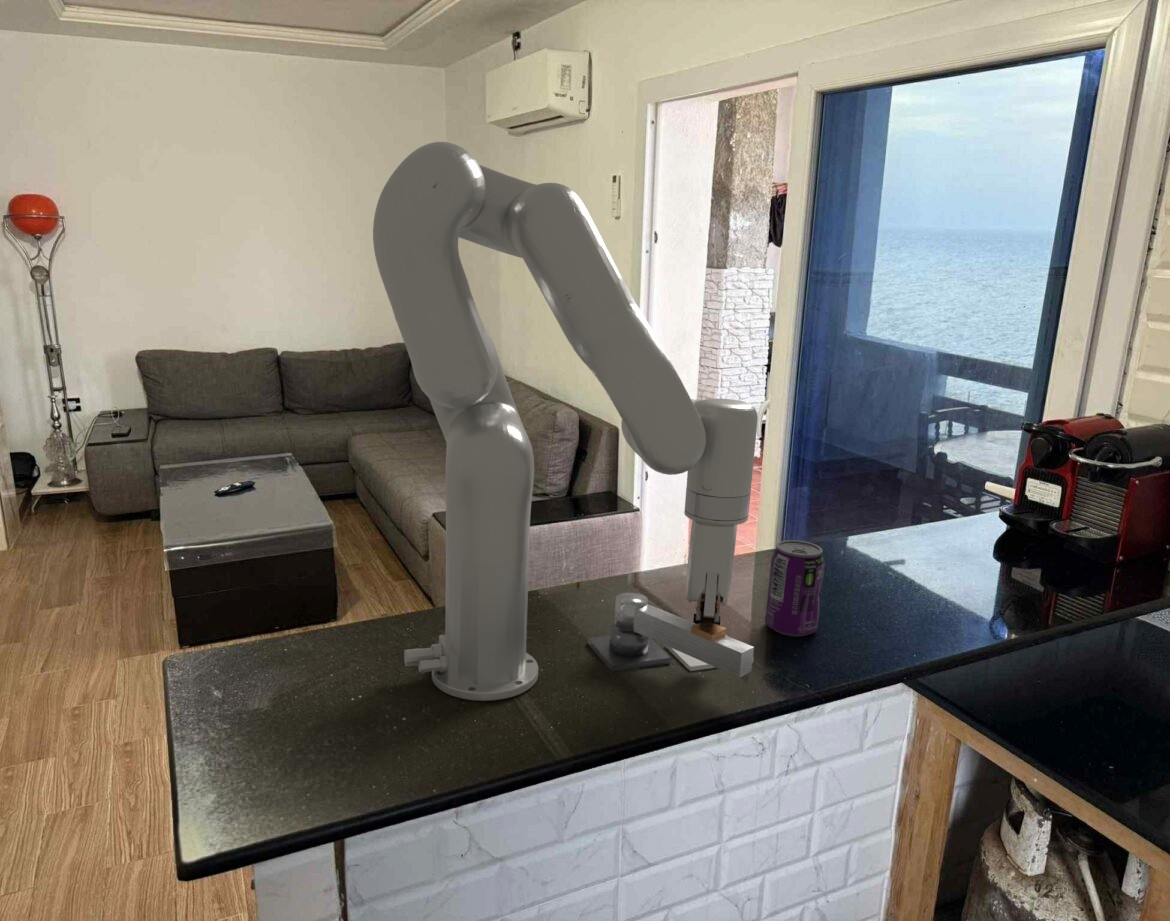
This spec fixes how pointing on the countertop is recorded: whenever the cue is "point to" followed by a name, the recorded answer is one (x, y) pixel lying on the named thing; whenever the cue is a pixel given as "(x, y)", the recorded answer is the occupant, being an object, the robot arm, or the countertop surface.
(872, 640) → the countertop surface
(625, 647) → the pivot pedestal
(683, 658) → the label plate
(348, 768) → the countertop surface
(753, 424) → the robot arm
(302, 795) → the countertop surface
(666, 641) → the grey long bar
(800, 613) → the beverage can
